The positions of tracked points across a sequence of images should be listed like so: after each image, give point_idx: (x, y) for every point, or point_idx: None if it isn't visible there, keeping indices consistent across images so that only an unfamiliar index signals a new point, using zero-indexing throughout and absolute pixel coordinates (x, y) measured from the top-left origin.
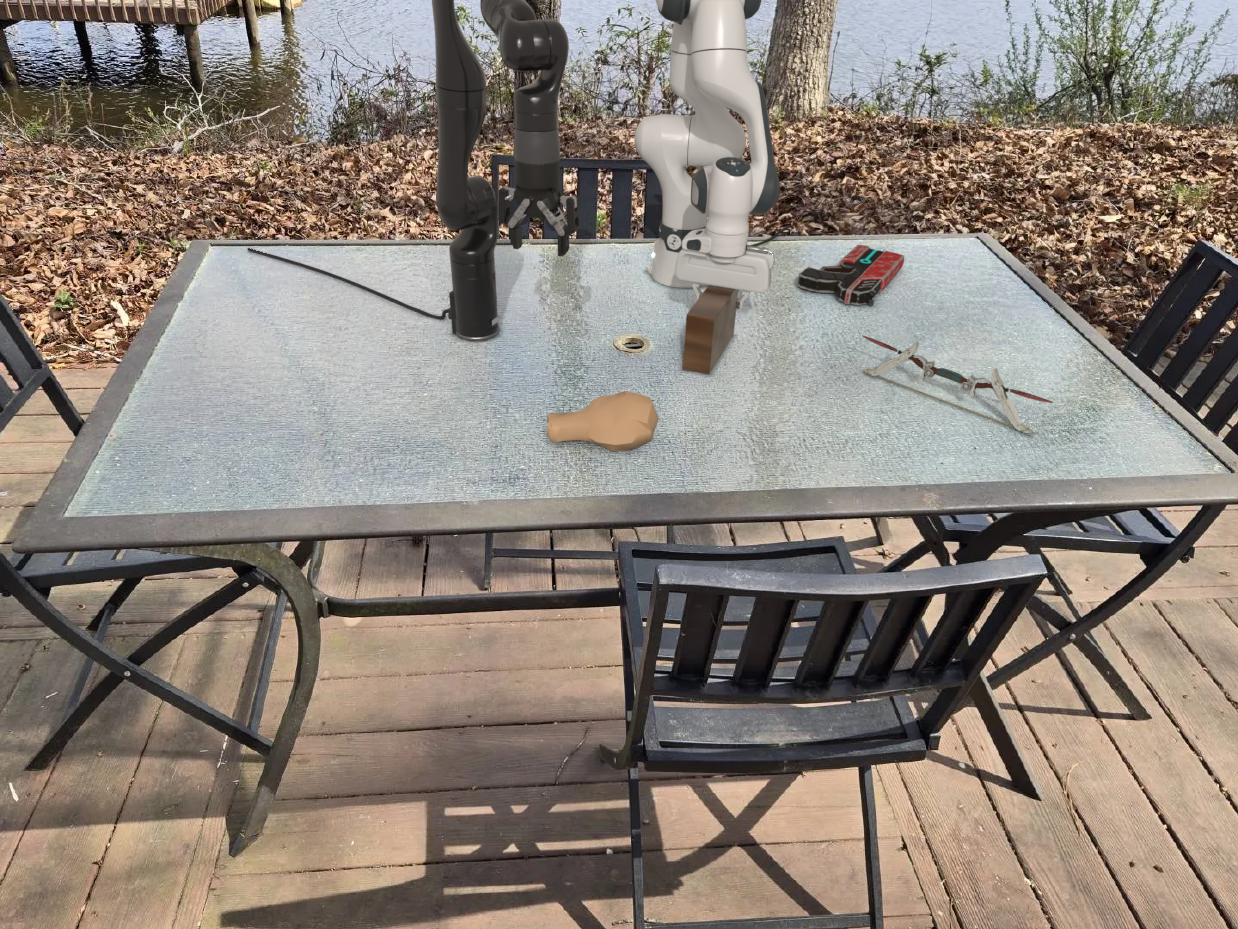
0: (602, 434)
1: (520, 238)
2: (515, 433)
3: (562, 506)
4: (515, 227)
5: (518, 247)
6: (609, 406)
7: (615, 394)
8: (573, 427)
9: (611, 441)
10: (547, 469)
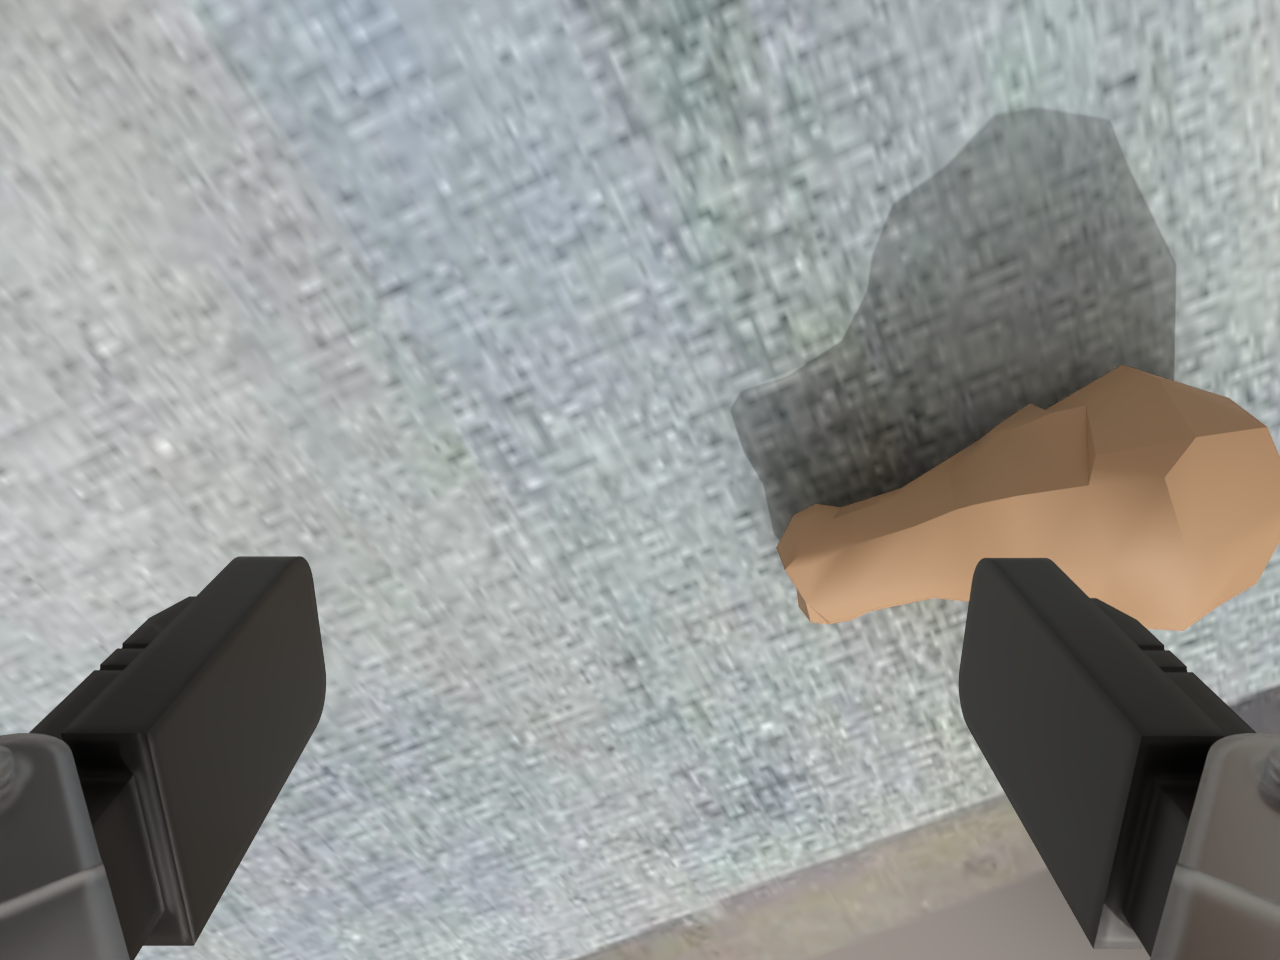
0: None
1: (261, 653)
2: (652, 565)
3: (961, 847)
4: (146, 928)
5: (316, 663)
6: (1092, 574)
7: (1106, 489)
8: (914, 601)
9: None
10: (851, 712)
